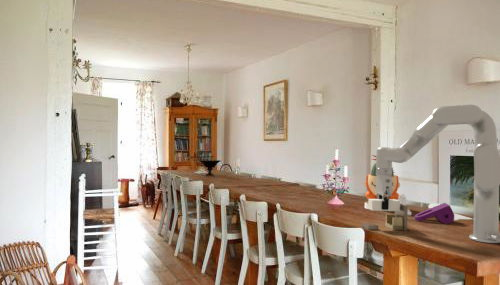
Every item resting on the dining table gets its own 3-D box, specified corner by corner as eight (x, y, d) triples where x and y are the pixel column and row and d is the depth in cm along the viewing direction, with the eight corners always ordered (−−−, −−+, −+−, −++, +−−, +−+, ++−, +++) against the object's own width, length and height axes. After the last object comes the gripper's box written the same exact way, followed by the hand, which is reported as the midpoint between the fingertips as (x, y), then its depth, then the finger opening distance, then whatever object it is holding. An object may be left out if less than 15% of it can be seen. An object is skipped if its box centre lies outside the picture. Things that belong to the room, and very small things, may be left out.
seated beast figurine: (412, 215, 230) (412, 195, 230) (396, 214, 232) (396, 194, 233) (409, 213, 239) (410, 193, 239) (395, 212, 242) (395, 192, 242)
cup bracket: (407, 230, 189) (407, 205, 189) (393, 230, 189) (394, 205, 189) (397, 225, 200) (397, 202, 200) (384, 225, 200) (384, 202, 200)
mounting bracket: (423, 233, 211) (457, 220, 208) (416, 218, 212) (449, 205, 209) (419, 229, 221) (451, 217, 217) (412, 215, 222) (444, 202, 218)
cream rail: (395, 209, 197) (395, 199, 197) (399, 211, 192) (400, 200, 192) (368, 208, 196) (368, 198, 196) (372, 210, 191) (372, 200, 191)
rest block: (378, 229, 190) (378, 225, 190) (368, 229, 189) (368, 225, 189) (372, 226, 198) (372, 222, 198) (362, 226, 197) (362, 222, 197)
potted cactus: (400, 211, 243) (401, 155, 243) (363, 209, 250) (364, 154, 250) (398, 206, 263) (399, 155, 264) (364, 204, 270) (364, 154, 270)
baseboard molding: (453, 221, 217) (474, 221, 219) (453, 216, 217) (474, 216, 219) (423, 211, 248) (441, 212, 249) (424, 207, 248) (441, 207, 249)
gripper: (398, 173, 186) (397, 211, 186) (384, 170, 203) (382, 205, 203) (383, 173, 185) (382, 211, 185) (370, 170, 202) (368, 205, 202)
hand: (382, 208), depth 194 cm, fingers closed on cream rail, 5 cm apart
